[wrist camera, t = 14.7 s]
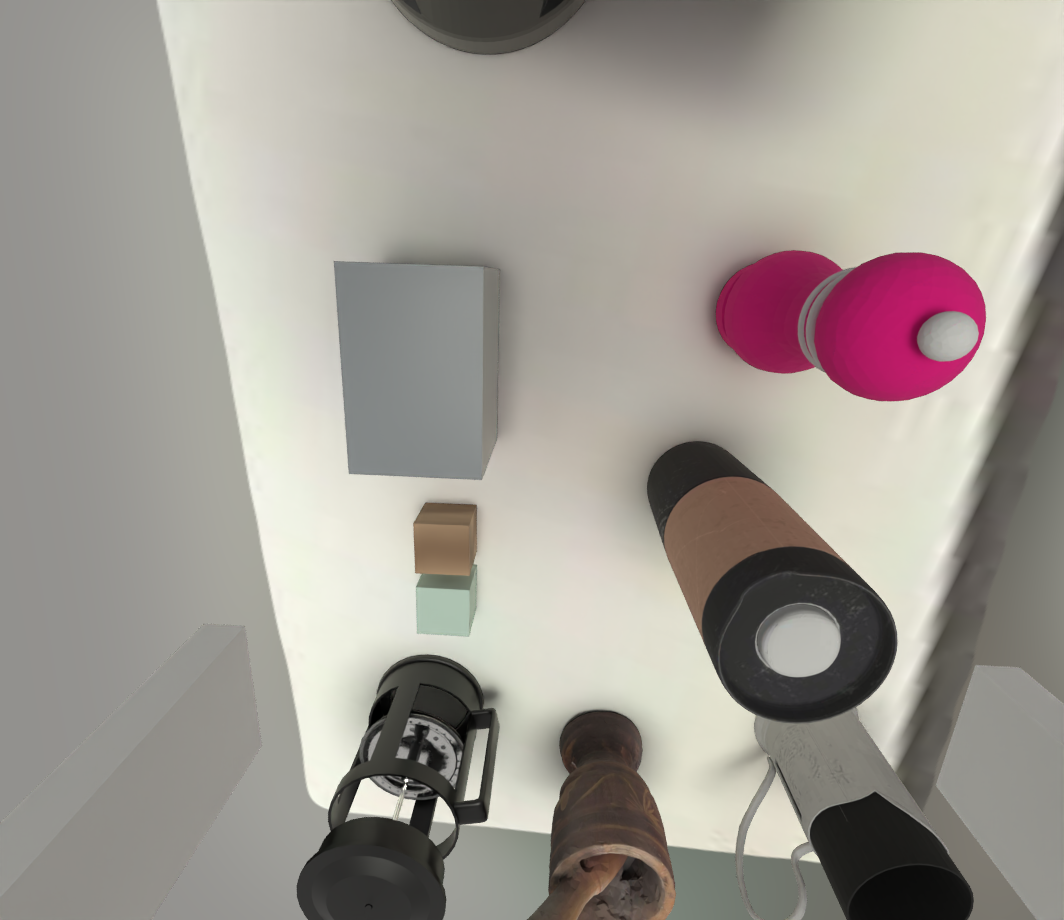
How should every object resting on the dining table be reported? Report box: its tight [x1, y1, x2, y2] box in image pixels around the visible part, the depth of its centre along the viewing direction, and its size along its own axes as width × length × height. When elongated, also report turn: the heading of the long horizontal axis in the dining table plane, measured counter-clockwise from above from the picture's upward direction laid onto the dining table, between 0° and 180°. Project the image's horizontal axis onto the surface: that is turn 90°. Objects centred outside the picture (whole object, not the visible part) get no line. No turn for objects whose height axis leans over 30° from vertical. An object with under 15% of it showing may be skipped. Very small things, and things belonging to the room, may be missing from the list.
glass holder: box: [735, 707, 974, 920], centre depth 42 cm, size 9×14×15 cm, turn 122°
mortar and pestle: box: [527, 712, 676, 920], centre depth 41 cm, size 12×9×20 cm
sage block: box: [416, 565, 477, 637], centre depth 44 cm, size 4×4×4 cm
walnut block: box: [413, 503, 477, 576], centre depth 42 cm, size 4×4×4 cm
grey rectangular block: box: [334, 261, 500, 480], centre depth 36 cm, size 12×8×9 cm, turn 178°
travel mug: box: [647, 442, 897, 724], centre depth 33 cm, size 8×8×20 cm
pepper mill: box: [716, 250, 986, 401], centre depth 29 cm, size 7×7×20 cm
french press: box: [297, 655, 499, 920], centre depth 38 cm, size 12×9×23 cm
